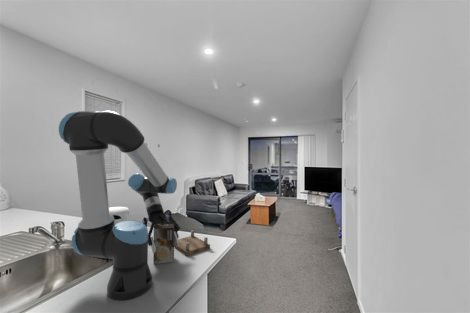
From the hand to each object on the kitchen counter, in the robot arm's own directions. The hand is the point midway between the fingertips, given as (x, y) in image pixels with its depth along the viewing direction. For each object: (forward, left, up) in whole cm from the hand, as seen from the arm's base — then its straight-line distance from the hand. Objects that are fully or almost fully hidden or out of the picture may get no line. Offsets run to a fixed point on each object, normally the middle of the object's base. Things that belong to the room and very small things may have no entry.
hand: (166, 248), depth 100 cm
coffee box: (0, +3, -7) cm, 7 cm away
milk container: (-13, +41, -7) cm, 44 cm away
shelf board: (+17, +8, -7) cm, 20 cm away
